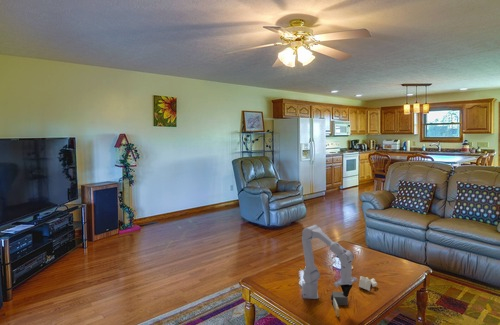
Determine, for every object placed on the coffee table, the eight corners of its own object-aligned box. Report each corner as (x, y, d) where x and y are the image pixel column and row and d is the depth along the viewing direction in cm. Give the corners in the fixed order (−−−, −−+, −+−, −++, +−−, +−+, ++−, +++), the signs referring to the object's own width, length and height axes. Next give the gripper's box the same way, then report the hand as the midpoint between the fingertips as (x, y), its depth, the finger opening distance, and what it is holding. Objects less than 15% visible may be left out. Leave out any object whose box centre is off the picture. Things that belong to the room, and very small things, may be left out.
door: (331, 304, 176) (332, 297, 176) (334, 305, 176) (334, 297, 176) (336, 317, 165) (336, 308, 164) (339, 317, 164) (339, 309, 164)
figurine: (369, 281, 188) (381, 278, 197) (356, 275, 195) (367, 273, 205) (368, 292, 188) (379, 289, 197) (354, 287, 195) (366, 283, 204)
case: (331, 304, 177) (331, 295, 176) (330, 299, 183) (330, 290, 182) (347, 305, 176) (347, 296, 175) (345, 299, 182) (345, 291, 181)
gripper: (340, 278, 160) (340, 302, 162) (361, 273, 166) (360, 296, 168) (332, 273, 167) (331, 296, 168) (352, 267, 173) (351, 290, 174)
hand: (345, 296), depth 168 cm, fingers closed
